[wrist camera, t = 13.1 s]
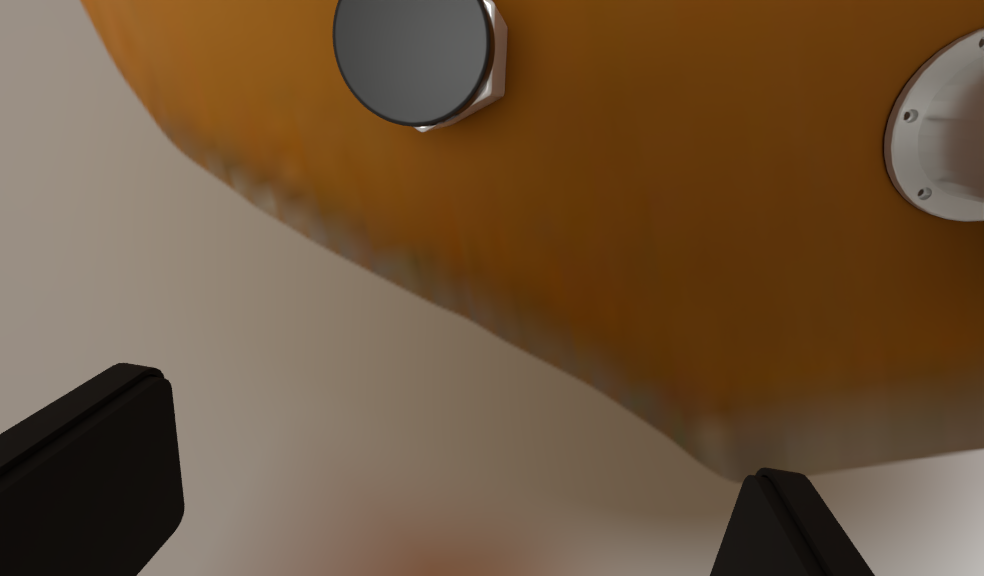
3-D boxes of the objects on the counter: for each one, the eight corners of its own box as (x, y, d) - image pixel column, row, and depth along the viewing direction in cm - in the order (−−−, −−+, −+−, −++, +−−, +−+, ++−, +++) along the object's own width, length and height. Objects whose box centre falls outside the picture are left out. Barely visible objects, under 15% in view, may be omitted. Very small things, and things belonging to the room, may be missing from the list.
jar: (371, 75, 38) (297, 65, 27) (426, -34, 35) (369, -96, 24) (474, 144, 39) (444, 162, 28) (535, 43, 36) (529, 17, 25)
